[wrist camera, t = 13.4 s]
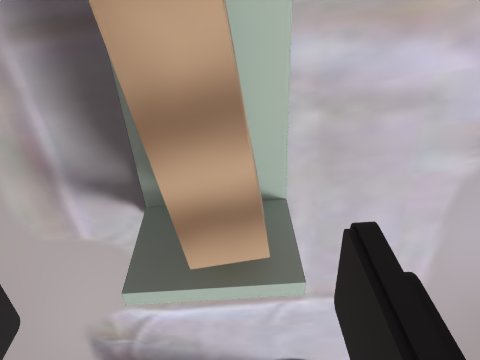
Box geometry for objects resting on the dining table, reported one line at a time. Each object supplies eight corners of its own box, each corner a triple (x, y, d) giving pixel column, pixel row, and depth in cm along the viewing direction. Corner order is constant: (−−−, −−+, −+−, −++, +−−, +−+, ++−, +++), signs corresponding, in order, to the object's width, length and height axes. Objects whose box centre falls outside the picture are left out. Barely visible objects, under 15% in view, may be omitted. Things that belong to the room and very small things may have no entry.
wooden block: (87, -134, 16) (26, -164, 11) (195, -160, 16) (183, -202, 11) (196, 208, 27) (190, 269, 22) (261, 197, 27) (270, 257, 22)
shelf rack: (283, 206, 33) (304, 300, 24) (152, 214, 33) (127, 311, 24) (295, -243, 17) (362, -410, 9) (46, -229, 17) (-122, -383, 9)
